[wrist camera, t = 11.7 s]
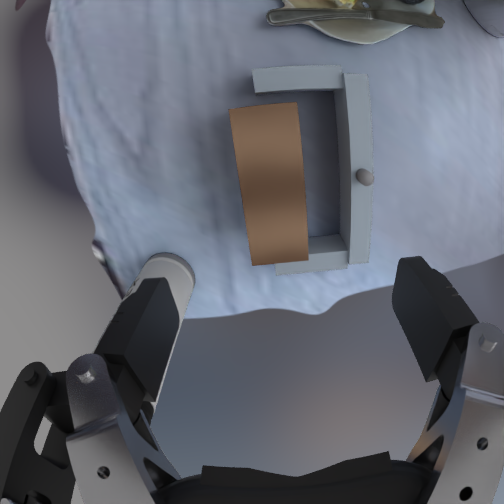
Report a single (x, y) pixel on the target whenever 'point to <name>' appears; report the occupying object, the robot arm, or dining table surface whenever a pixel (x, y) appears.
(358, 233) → the gray u-shaped bracket
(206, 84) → the dining table surface
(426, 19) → the salad plate
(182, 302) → the travel mug
